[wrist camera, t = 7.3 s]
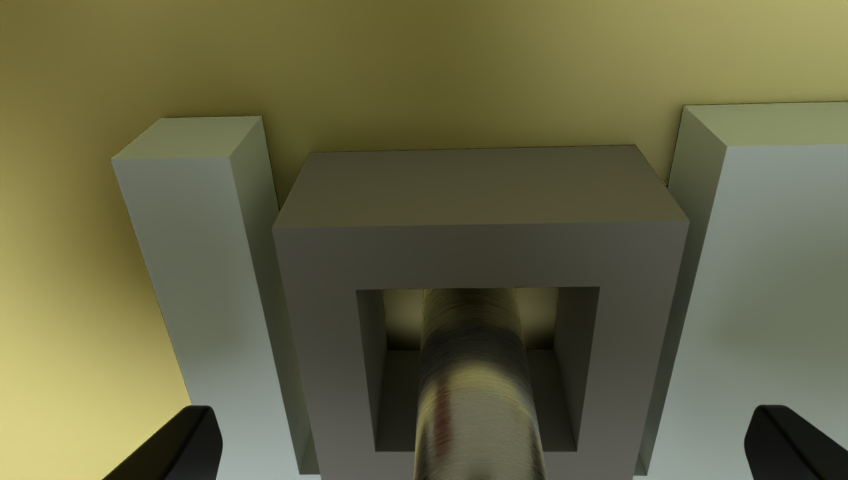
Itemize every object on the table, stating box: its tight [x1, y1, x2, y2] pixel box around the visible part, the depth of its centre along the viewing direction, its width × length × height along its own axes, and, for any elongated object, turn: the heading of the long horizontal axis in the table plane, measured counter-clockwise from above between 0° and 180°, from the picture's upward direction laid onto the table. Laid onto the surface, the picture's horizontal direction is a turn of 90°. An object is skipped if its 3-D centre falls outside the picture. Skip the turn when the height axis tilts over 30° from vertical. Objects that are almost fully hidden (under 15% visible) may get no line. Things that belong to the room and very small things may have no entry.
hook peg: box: [414, 288, 548, 480], centre depth 11 cm, size 2×2×6 cm
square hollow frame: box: [272, 145, 690, 480], centre depth 12 cm, size 6×6×3 cm
